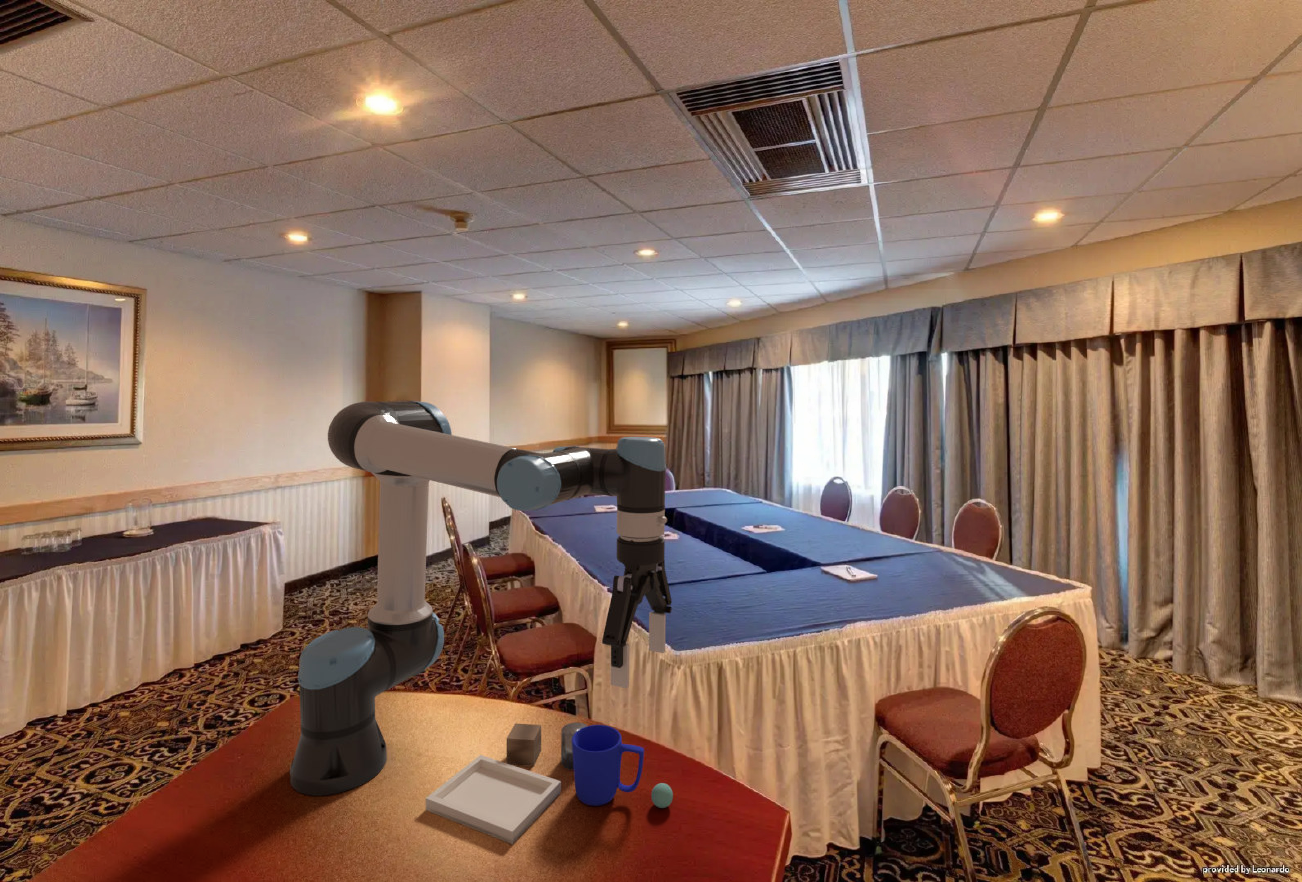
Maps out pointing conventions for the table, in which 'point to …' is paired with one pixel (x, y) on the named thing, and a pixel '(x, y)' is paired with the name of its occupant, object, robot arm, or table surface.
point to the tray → (494, 798)
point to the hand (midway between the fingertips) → (639, 667)
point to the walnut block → (524, 744)
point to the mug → (600, 764)
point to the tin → (568, 743)
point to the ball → (662, 795)
